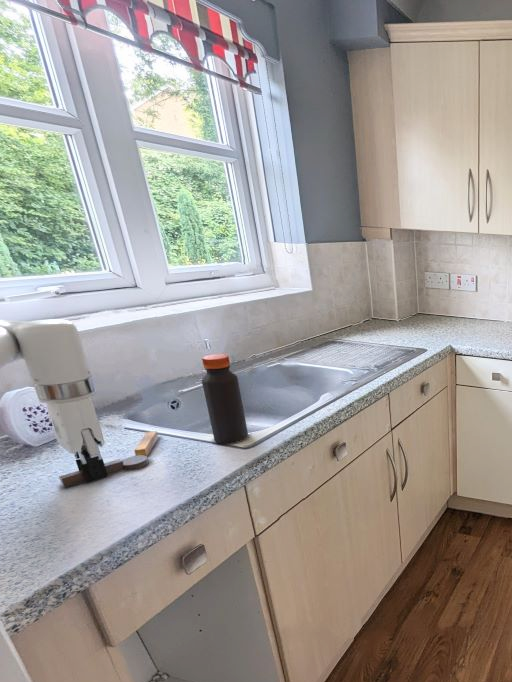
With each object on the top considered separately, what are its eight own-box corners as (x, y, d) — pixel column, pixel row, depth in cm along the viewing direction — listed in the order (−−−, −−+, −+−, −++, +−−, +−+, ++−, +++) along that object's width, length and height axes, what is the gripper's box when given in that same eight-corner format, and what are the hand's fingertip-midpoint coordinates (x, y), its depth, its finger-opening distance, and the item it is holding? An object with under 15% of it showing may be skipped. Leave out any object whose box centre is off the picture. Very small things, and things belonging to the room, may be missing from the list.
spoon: (67, 490, 84) (63, 481, 83) (59, 483, 86) (56, 473, 85) (152, 464, 94) (149, 455, 93) (143, 458, 96) (141, 449, 96)
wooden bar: (147, 456, 97) (145, 448, 97) (136, 457, 96) (134, 450, 96) (158, 437, 106) (156, 430, 105) (148, 439, 105) (146, 432, 104)
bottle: (237, 430, 111) (222, 351, 104) (254, 436, 108) (240, 356, 102) (208, 440, 106) (189, 357, 99) (225, 447, 103) (208, 362, 96)
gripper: (25, 384, 83) (56, 472, 89) (49, 404, 75) (82, 499, 82) (79, 375, 89) (105, 458, 95) (108, 392, 81) (134, 482, 87)
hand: (94, 476), depth 88 cm, fingers closed on spoon, 1 cm apart
